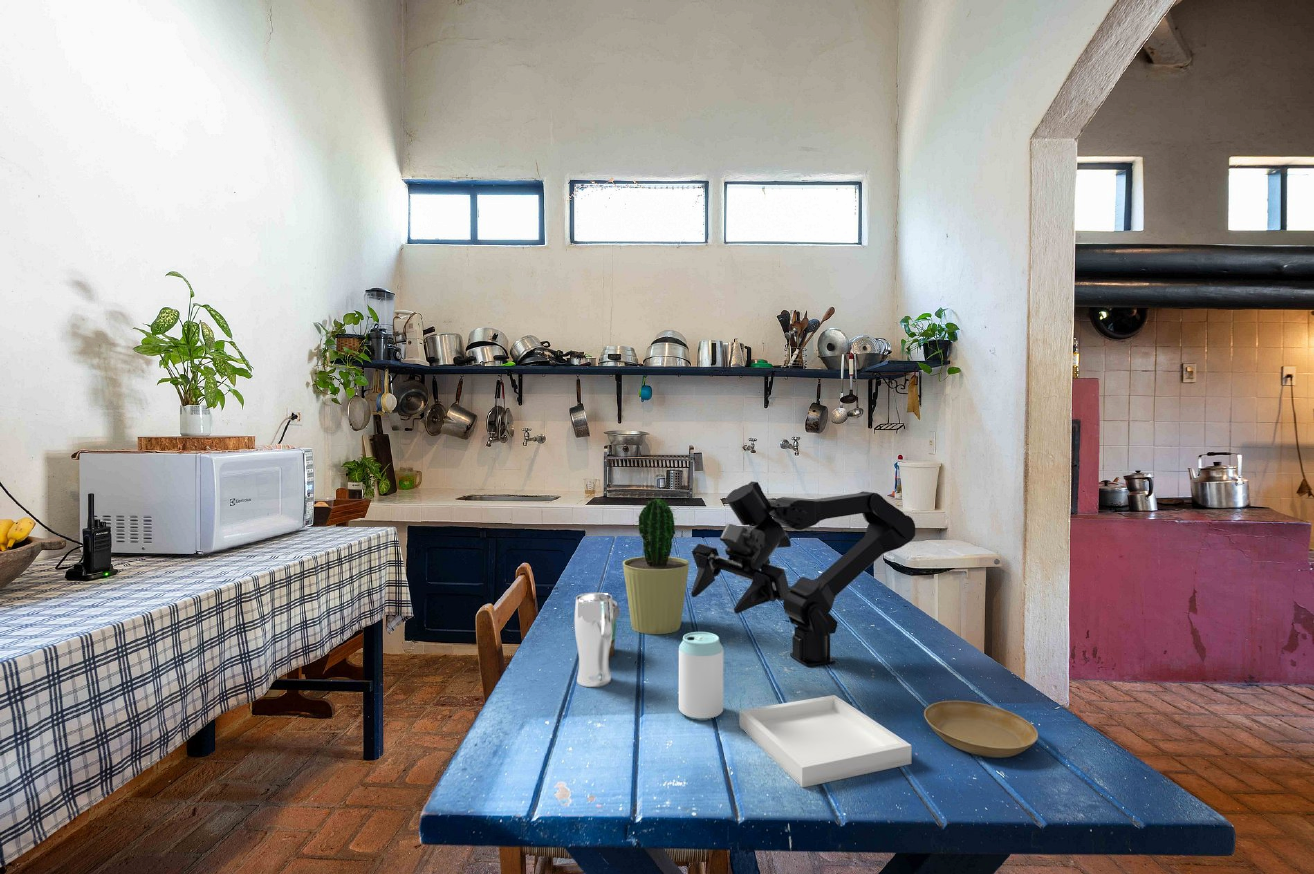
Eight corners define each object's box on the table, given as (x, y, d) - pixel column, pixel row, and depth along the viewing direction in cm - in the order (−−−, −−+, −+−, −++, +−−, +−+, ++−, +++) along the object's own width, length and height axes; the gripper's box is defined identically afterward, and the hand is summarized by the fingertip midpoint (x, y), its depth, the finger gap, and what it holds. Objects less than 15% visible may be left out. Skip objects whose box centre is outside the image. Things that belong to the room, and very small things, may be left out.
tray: (834, 710, 99) (834, 694, 99) (911, 763, 83) (911, 745, 83) (739, 727, 93) (739, 710, 93) (802, 787, 77) (802, 767, 77)
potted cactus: (655, 612, 153) (655, 492, 153) (703, 626, 142) (703, 496, 142) (608, 626, 142) (608, 496, 142) (656, 642, 131) (656, 501, 131)
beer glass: (620, 676, 112) (620, 594, 112) (600, 691, 106) (601, 604, 106) (587, 670, 115) (587, 590, 115) (566, 684, 109) (567, 599, 109)
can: (691, 726, 94) (692, 647, 94) (671, 707, 100) (671, 633, 100) (731, 717, 97) (731, 640, 96) (708, 699, 103) (709, 627, 103)
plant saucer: (1026, 779, 80) (1026, 759, 80) (909, 741, 89) (909, 723, 89) (1046, 737, 91) (1046, 719, 91) (940, 708, 101) (941, 692, 101)
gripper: (708, 501, 118) (659, 555, 109) (795, 523, 106) (748, 585, 97) (722, 545, 124) (676, 599, 115) (806, 570, 111) (762, 633, 102)
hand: (713, 603), depth 107 cm, fingers open, 9 cm apart
